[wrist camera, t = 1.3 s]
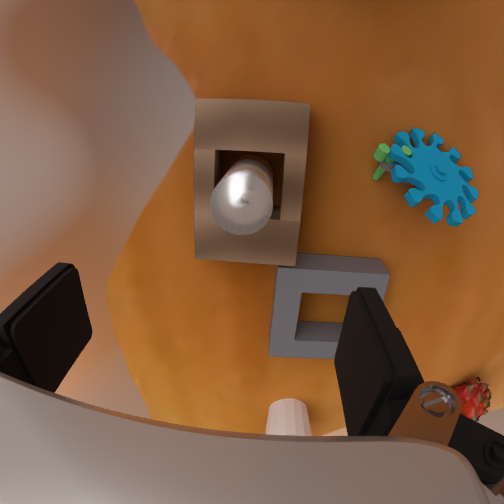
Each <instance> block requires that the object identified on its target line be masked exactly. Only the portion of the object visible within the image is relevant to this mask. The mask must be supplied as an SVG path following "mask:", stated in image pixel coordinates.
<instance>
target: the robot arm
mask: <svg viewBox="0 0 504 504" xmlns="http://www.w3.org/2000/svg"><path fill="white" fill-rule="evenodd" d="M91 336H92V327H91V324H90V320H89V316H88V312H87V308H86V304H85V300H84V295H83V291H82V287H81V282H80V277H79V272H78V270H77V269H76V268H75V267H74V265H73V264H69V263H60V262H59V263H57V264H56V265H54V266H53V267H52V268H51V269H50V270H48V271H47V272H46V273H45V274H44V275H43V276H41V277H40V278H39V279H38V280H37V281H36V282H35V283H33V284H32V285H31V286H30V287H29V288H28V289H27V290H25V292H23V293H22V294H21V295H20V296H19V297H18V298H17V299H15V300H14V301H13V302H12V303H11V304H10V305H9V306H8V307H7V308H6V309H5V310H4V311H3V312H2V313H1V314H0V504H504V436H503V435H501V434H499V433H497V432H495V431H493V430H491V429H489V428H487V427H485V426H484V425H482V424H480V423H478V422H476V421H474V420H472V419H470V418H468V417H466V416H464V415H462V414H461V413H460V412H461V406H462V404H461V400H460V398H459V396H458V394H457V393H456V392H455V391H454V390H453V389H452V388H451V387H449V386H448V385H446V384H444V383H440V382H435V381H429V382H424V380H423V378H422V376H421V373H420V371H419V369H418V367H417V365H416V363H415V361H414V358H413V356H412V354H411V352H410V350H409V348H408V346H407V344H406V342H405V340H404V338H403V336H402V334H401V332H400V330H399V329H398V328H396V326H395V324H394V322H393V320H392V318H391V316H390V314H389V312H388V310H387V308H386V307H385V305H384V303H383V301H382V299H381V297H380V295H379V293H378V291H377V290H376V288H371V287H358V288H357V290H356V291H352V292H351V294H350V297H349V302H348V306H347V310H346V314H345V318H344V322H343V326H342V330H341V334H340V338H339V342H338V345H337V349H336V353H335V358H334V364H335V369H336V374H337V379H338V384H339V389H340V395H341V400H342V405H343V411H344V416H345V422H346V428H347V432H348V436H288V435H267V434H252V433H240V432H230V431H221V430H212V429H205V428H198V427H191V426H185V425H179V424H173V423H167V422H162V421H156V420H151V419H147V418H141V417H137V416H133V415H129V414H124V413H120V412H116V411H112V410H108V409H104V408H101V407H97V406H94V405H90V404H87V403H84V402H80V401H77V400H74V399H71V398H67V397H65V396H62V395H59V394H56V393H55V391H56V390H57V388H58V386H59V385H60V383H61V382H62V380H63V379H64V377H65V376H66V374H67V372H68V371H69V370H70V368H71V367H72V365H73V364H74V362H75V361H76V359H77V358H78V356H79V355H80V353H81V352H82V350H83V349H84V347H85V346H86V345H87V343H88V342H89V340H90V339H91Z"/></svg>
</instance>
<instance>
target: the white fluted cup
mask: <svg viewBox="0 0 504 504" xmlns="http://www.w3.org/2000/svg"><path fill="white" fill-rule="evenodd" d="M265 434H267V435H288V436H312V433H311V427H310V422H309V417H308V412H307V407H306V405H305V403H303V402H302V401H300V400H297V399H292V398H285V399H281V400H277V401H276V402H274V403H272V404H271V406H270V407H269V413H268V419H267V426H266V432H265Z"/></svg>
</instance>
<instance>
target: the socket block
mask: <svg viewBox="0 0 504 504" xmlns="http://www.w3.org/2000/svg"><path fill="white" fill-rule="evenodd" d="M389 278H390V273H389V272H388V270H387V269H386V267H385V266H384V264H383V262H382V261H381V259H375V258H361V257H347V256H334V255H320V254H306V253H297V255H296V264H295V266H285V265H276V274H275V284H274V294H273V304H272V314H271V324H270V333H269V356H277V357H296V358H326V359H334V358H335V353H336V349H337V345H338V342H339V338H340V334H341V330H342V326H343V323H330V322H307V321H297V320H298V314H299V307H300V301H301V294H302V293H318V294H336V295H350V294H351V292H352V291H356V290H357V288H358V287H371V288H376V290H377V291H378V293H379V295H380V297H381V299H382V301H383V299H384V296H385V292H386V289H387V285H388V282H389Z"/></svg>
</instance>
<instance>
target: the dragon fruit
mask: <svg viewBox="0 0 504 504" xmlns="http://www.w3.org/2000/svg"><path fill="white" fill-rule="evenodd" d="M476 379H478V380H479V381H481V380H480V378H479V377H475V378H474V379H473V380H471V382H470V384H469V382H467V381H465V382H463V385H462V386H455V387H452V386H451V387H452V389H453V390H454V391H455V392H456V393H457V394H458V396H459V398H460V400H461V404H462V406H461V412H460V413H461V414H462V415H464V416H466V417H468V418H470V419H472V420H474V421H476V422H477V421H478V420H479V417H480V416H481V415H484V414H486V413H487V412H488V410H486V408H488V407H489V406H490V401H489V400H490V399H491V392H490V390H489V389H488V388H487V387H488V386H489V385H488V384H486V383H479V384H477V383H475V382H476Z"/></svg>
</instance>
